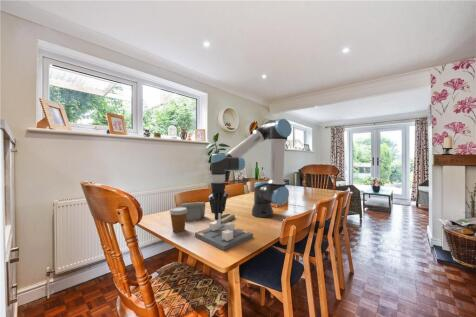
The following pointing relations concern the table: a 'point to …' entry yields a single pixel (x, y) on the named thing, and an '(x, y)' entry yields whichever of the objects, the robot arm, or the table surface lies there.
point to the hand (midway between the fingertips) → (218, 225)
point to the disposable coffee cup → (178, 218)
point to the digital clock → (194, 210)
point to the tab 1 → (214, 226)
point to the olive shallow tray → (226, 218)
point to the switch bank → (216, 237)
